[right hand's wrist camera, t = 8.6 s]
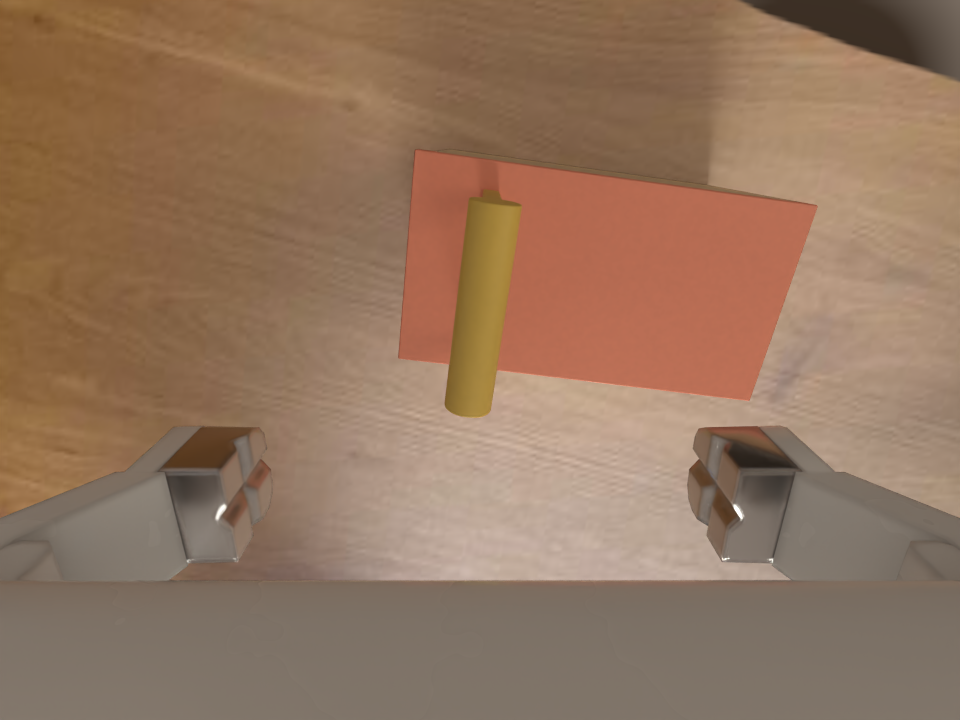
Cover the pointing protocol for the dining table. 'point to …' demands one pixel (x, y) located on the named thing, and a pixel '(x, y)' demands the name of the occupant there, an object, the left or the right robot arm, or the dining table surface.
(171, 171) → the dining table surface
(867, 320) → the dining table surface
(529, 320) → the lid
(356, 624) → the right robot arm
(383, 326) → the dining table surface
